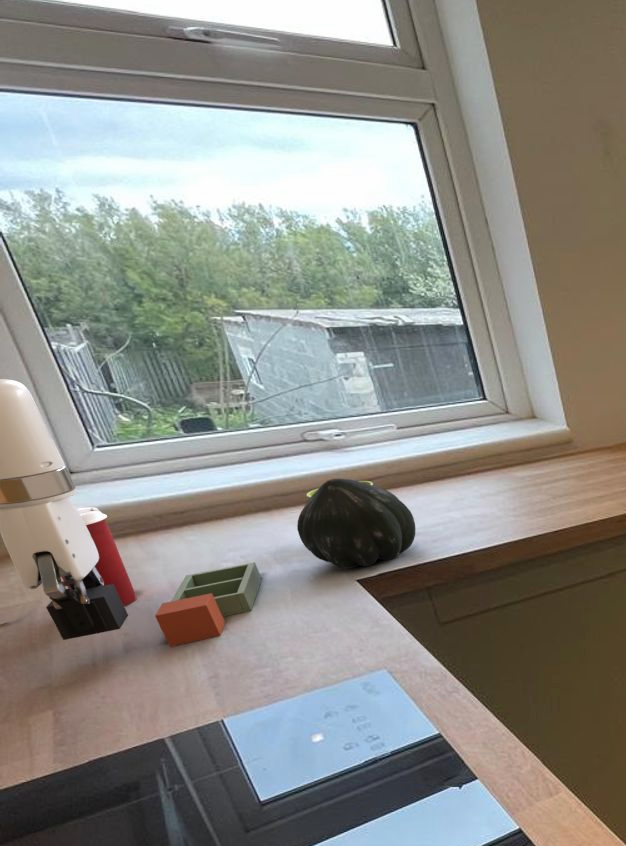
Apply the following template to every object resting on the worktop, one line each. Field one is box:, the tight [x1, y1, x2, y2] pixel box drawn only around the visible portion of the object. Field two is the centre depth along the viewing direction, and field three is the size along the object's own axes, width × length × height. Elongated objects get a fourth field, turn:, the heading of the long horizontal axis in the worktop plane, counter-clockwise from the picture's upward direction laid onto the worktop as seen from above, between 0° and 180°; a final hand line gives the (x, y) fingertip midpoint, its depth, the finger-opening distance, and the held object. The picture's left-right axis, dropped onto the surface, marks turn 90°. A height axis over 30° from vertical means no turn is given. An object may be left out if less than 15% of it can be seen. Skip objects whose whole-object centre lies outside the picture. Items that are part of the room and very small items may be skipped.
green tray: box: [170, 561, 263, 618], centre depth 118 cm, size 8×15×3 cm, turn 36°
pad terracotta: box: [154, 593, 226, 647], centre depth 107 cm, size 5×5×4 cm
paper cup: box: [61, 506, 137, 607], centre depth 116 cm, size 8×8×14 cm
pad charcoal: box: [45, 584, 129, 641], centre depth 102 cm, size 5×5×4 cm
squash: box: [296, 478, 416, 569], centre depth 130 cm, size 14×15×15 cm
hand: (95, 624), depth 102 cm, fingers closed on pad charcoal, 5 cm apart
